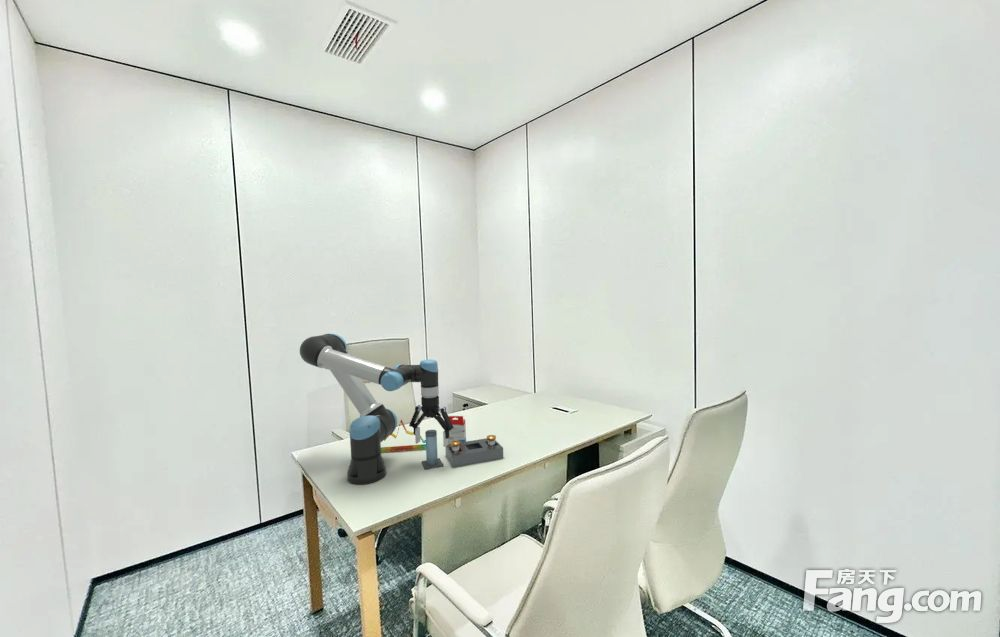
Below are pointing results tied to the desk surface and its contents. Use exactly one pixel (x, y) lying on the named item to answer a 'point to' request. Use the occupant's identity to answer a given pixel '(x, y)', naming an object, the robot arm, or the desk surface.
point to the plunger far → (491, 440)
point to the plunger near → (455, 446)
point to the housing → (474, 453)
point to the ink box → (457, 429)
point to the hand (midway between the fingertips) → (431, 444)
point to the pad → (432, 465)
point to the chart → (403, 448)
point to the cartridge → (431, 447)
